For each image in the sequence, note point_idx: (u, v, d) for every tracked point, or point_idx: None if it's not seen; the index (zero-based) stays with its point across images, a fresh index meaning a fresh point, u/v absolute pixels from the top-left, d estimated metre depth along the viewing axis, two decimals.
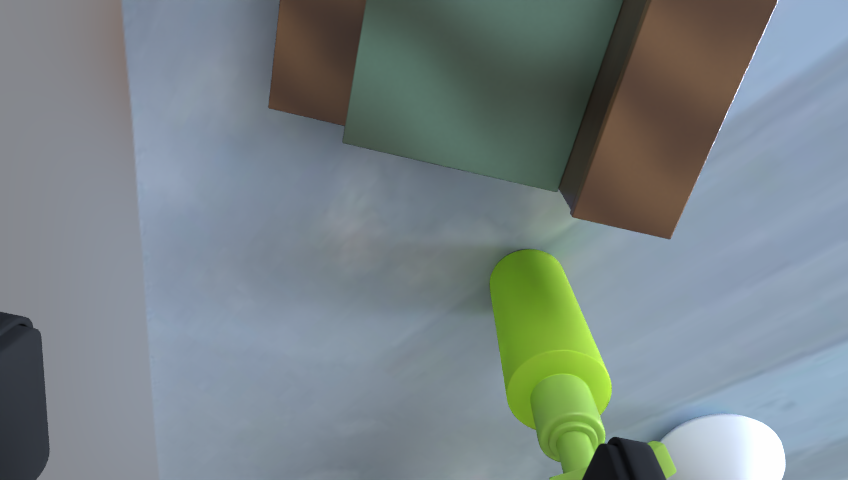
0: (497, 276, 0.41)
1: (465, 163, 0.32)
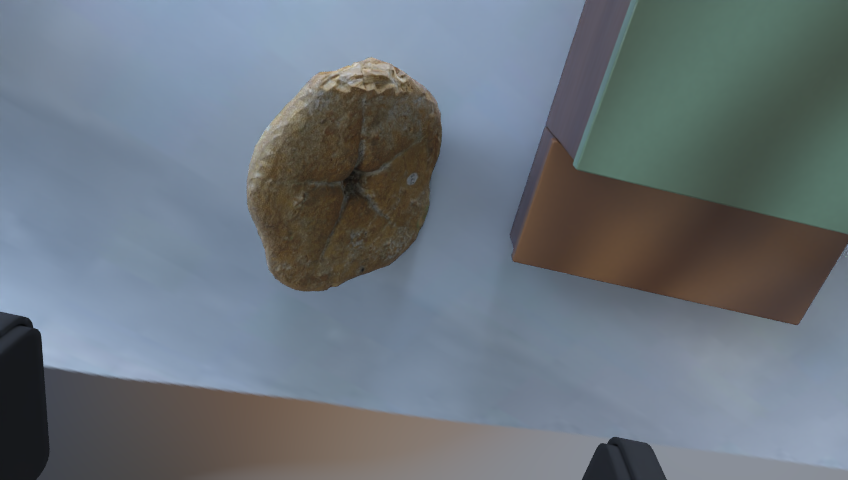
0: None
1: None
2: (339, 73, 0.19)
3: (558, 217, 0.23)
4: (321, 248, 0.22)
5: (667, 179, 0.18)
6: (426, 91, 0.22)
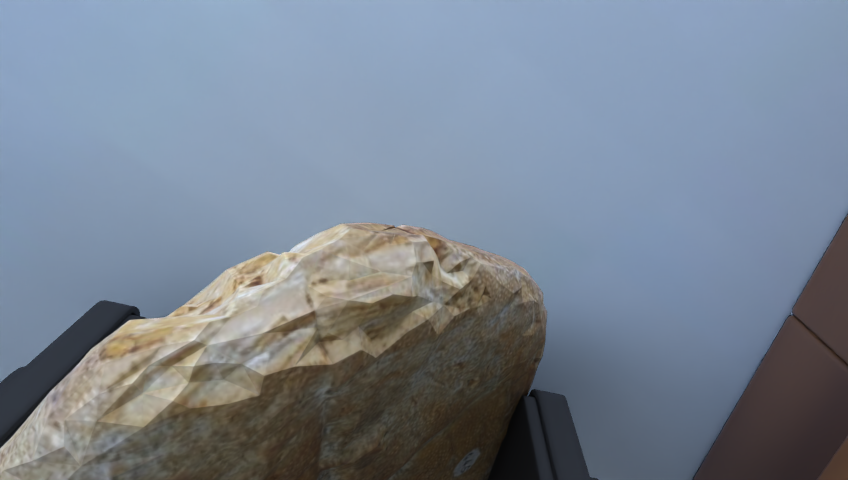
0: None
1: None
2: (204, 336, 0.04)
3: None
4: None
5: None
6: (521, 280, 0.07)
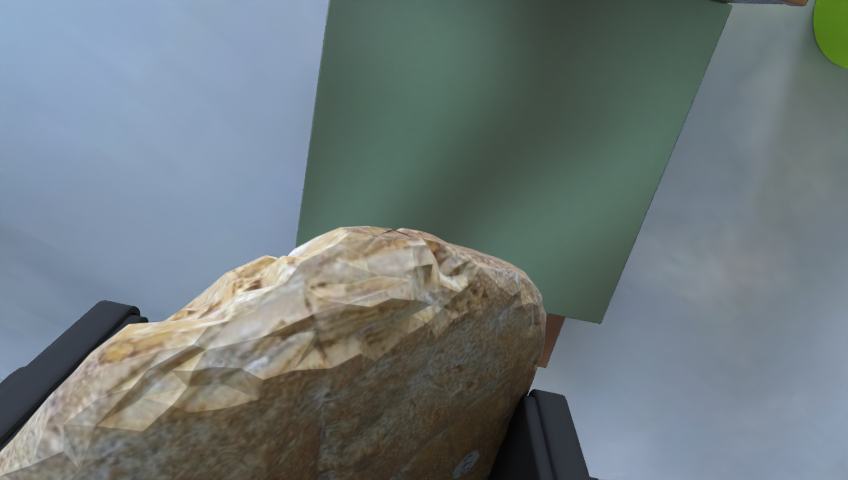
0: None
1: (655, 163, 0.21)
2: (203, 341, 0.04)
3: None
4: None
5: None
6: (520, 283, 0.07)
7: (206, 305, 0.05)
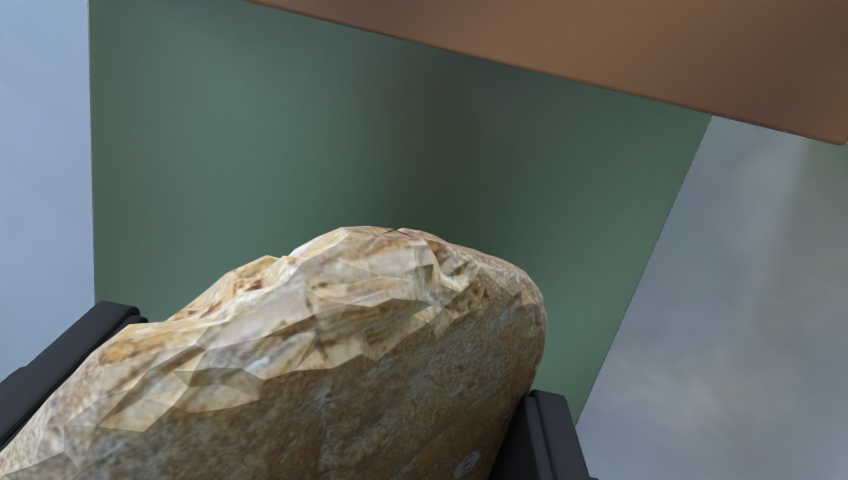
0: None
1: (604, 319, 0.14)
2: (203, 341, 0.04)
3: None
4: None
5: None
6: (521, 283, 0.07)
7: (206, 305, 0.05)
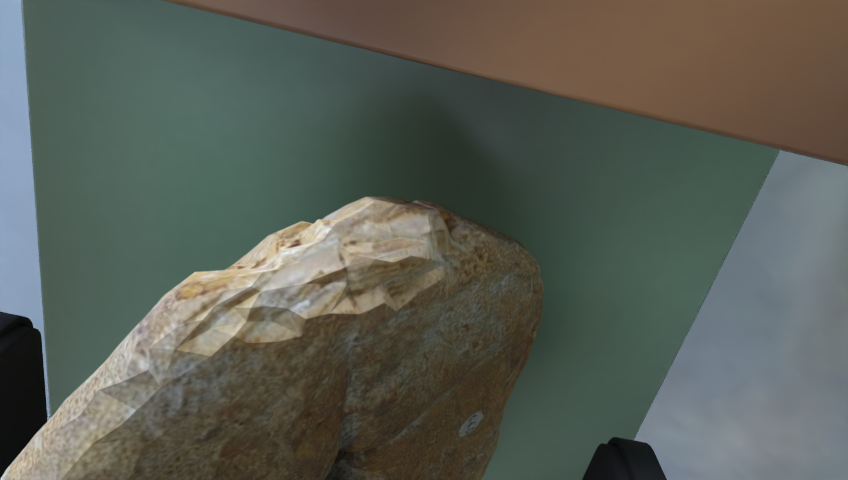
0: None
1: (642, 379, 0.12)
2: (258, 284, 0.05)
3: None
4: None
5: None
6: (520, 253, 0.08)
7: (253, 262, 0.06)
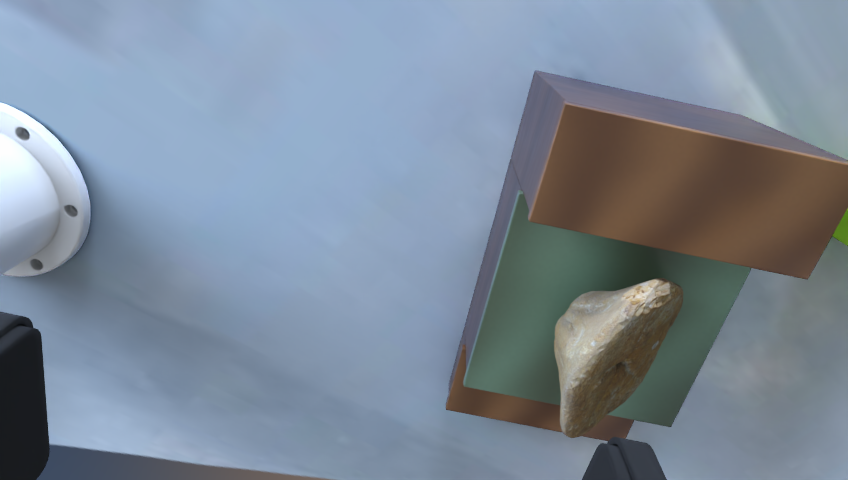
0: None
1: (711, 331, 0.32)
2: (645, 301, 0.25)
3: None
4: (595, 407, 0.29)
5: (512, 391, 0.34)
6: (681, 289, 0.28)
7: (631, 295, 0.26)
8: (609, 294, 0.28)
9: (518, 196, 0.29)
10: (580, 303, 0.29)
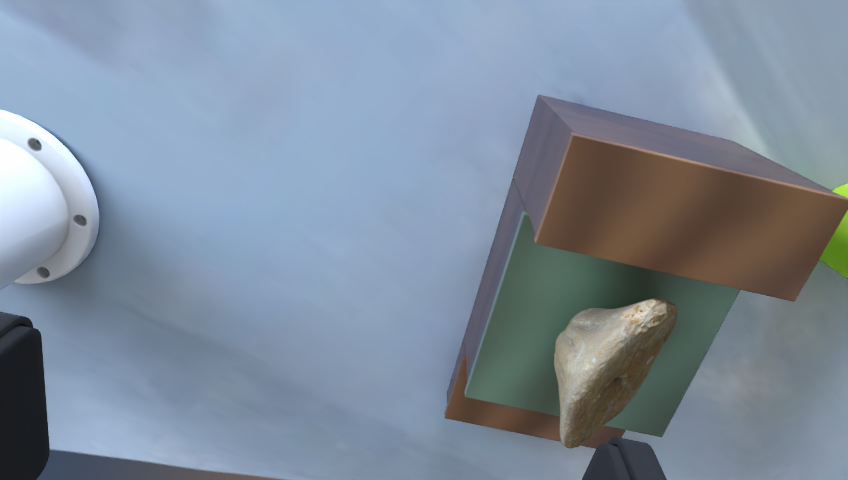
0: (831, 267, 0.37)
1: (702, 347, 0.33)
2: (643, 320, 0.26)
3: None
4: (593, 419, 0.30)
5: (511, 401, 0.35)
6: (676, 308, 0.30)
7: (630, 314, 0.27)
8: (608, 312, 0.29)
9: (523, 217, 0.30)
10: (580, 320, 0.30)
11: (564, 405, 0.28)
